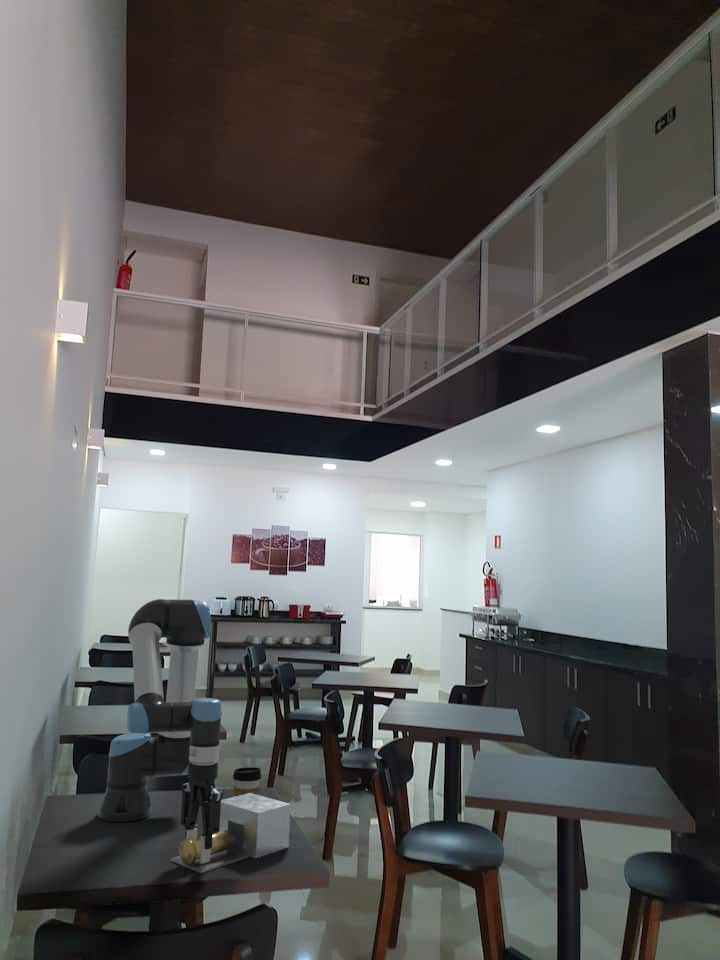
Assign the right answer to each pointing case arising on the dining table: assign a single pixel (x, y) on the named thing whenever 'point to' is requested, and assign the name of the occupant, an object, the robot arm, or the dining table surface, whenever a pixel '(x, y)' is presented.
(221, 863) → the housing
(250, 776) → the coffee cup
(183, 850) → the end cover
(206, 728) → the robot arm
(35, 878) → the dining table surface
